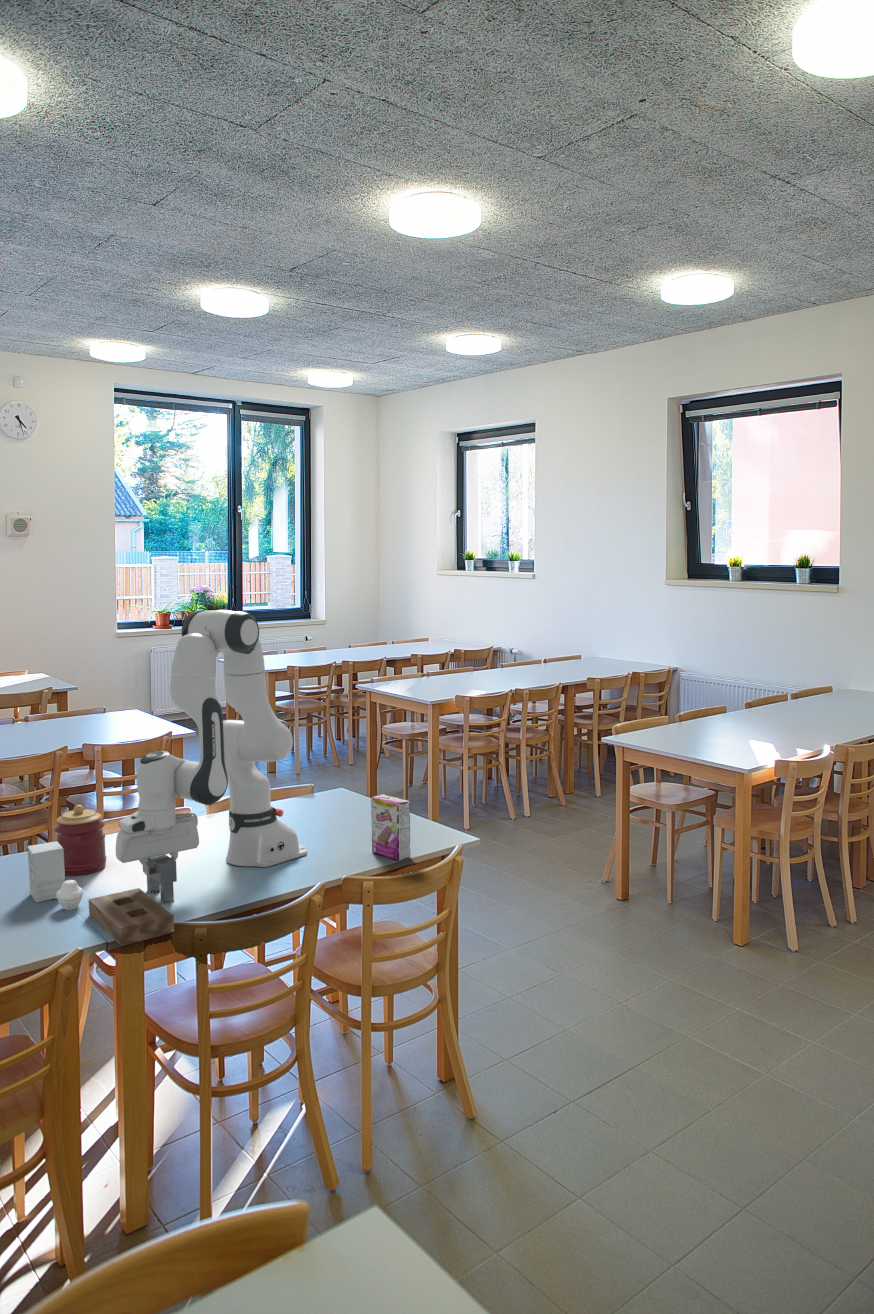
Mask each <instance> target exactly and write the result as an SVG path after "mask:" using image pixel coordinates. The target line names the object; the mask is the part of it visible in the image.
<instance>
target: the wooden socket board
mask: <svg viewBox="0 0 874 1314" xmlns="http://www.w3.org/2000/svg"><path fill="white" fill-rule="evenodd" d="M88 913H89V917H90V918H91V919H92V920H93V919H94V920H93V921H94V922H95V921H96V923H97V924H98V926H100V927H101V928H102V929H103V931H105V933H107V934H108V935H109V937H110V938H112V939H113V940H114V941H115V942H116V943H117V944H119V945H120V946H121V947H122V946H126V945H130V944H134V943H137V942H142V941H146V940H150V939H153V938H158V937H162V936H166V935H168V934H172V933H171V930H172V927H173V925H174V926H175V915H174V914H173V913H172V912H170V910H168V909H166V907H164V906H163V905H161V904H160V903H159V902H157V901H156V900H155V899H154V898H152V896H150V895H149V894H147V893H146V892H145V891H143V890H142V889H141V888H140V887H136V888H132V889H128V890H123V891H119V892H116V893H110V894H106V895H101V896H98V897H93V898H88Z"/></svg>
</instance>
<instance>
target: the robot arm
mask: <svg viewBox="0 0 874 1314" xmlns="http://www.w3.org/2000/svg"><path fill="white" fill-rule="evenodd" d="M259 627H260V626H259V624H258V621H257V620H256V617H254V616H253V615H252V614H250V613H248V612H245V611H242V610H241V611H240V610H237V611H235V610H229V609H216V610H214V609H213V610H202V609H201V610H196V611H194V612H191V613H188V615H186V617H185V619H184V621H183V623H182V626H181V637H180V638H179V639H178V641H177V645H176V647H175V651H174V655H173V658H172V664H171V670H170V681H169V691H170V692H169V693H170V698H171V701H173V704H174V705H175V706H176V707H177V708H178V709H179V710H180V711H181V712H184V714H186V715H188V716H189V717H190V718H191V719H192V720H193V721H194V722H195V724H196V726H197V728H198V734H199V737H198V738H199V761H194V760H191V759H184V758H179V757H177V756H174V755H173V754H171V753H170V752H169V751H165V750H156V751H151V752H149V753H146V754H144V755H143V756H141V758H139V761H138V765H137V770H136V771H137V772H136V785H137V786H136V789H137V793H138V797H139V798H138V800H139V801H138V804H137V810H136V811H135V812H133V813H131V814H129V815H127V816H125V817H124V818H122V819H120V820H119V821H118V827H119V828H120V830H119V831H118V833H117V835H116V841H115V856H116V857H115V858H116V859H117V860H118V861H120V862H121V863H124V864H127V863H132V862H135V861H138V862H139V863H140V864H141V865H142V868H143V867H144V870H145V873H144V875H146V876H147V875H152V874H153V872H152V871H153V868H152V867H151V866H148V865H147V864H146V862H148V858H151V857H156V856H161V855H168V854H169V855H170V858H171V859H173V860H174V861H176V862H177V859H178V857H179V852H184V851H188V850H194V849H197V848H198V846H199V844H200V837H199V830H198V824H199V823H198V821H199V818H198V815H197V814H196V813H194V812H193V813H192V811H188V812H185V813H177V814H176V800H177V799H178V798H181V799H184V800H190V801H193V802H195V803H198V804H202V805H205V806H212V805H214V804H217V803H218V802H219V801H220V800H221V799H222V798H223V797H224V795H225V794H226V791H227V789H228V794H229V805H230V807H229V808H230V809H229V810H228V826H229V843H228V844H229V845H228V849H227V854H226V858H225V862H227V863H228V864H229V865H233V866H239V867H259V868H260V867H261V868H268V867H271V866H275V865H278V864H282V863H285V862H287V861H291V860H294V859H297V858H300V857H303V856H306V855H307V853H308V851H307V849H306V847H305V846H304V845H302V844H300V843H299V839H298V835H297V834H296V833H297V832H296V831H295V830H294V829H293V828H292V827H290V826H288V825H287V824H285V823H284V822H283V821H281V820H279V819H278V818H277V817H279V818H280V817H283V815H284V813H285V812H284V810H283V809H280V808H275V807H273V806H272V805H271V802H272V801H271V783H270V780H269V778H268V777H267V776H266V775H265V774H263V773H262V772H261V771H260V770H259V769H258V768H257V766H256V765H255V763H254V762H258V763H259V762H260V763H261V762H262V763H272V762H273V763H274V762H278V761H284V760H285V759H286V758H287V757H288V756H289V755H290V753H291V751H292V749H293V747H294V746H293V745H294V739H293V735H292V732H291V731H290V729H289V728H288V727H287V726H286V725H285V724H284V723H283V722H281V720H280V719H279V718H278V717H277V715H276V714H275V713H274V711H273V709H272V706H271V704H270V701H269V697H268V691H267V681H266V671H265V670H266V668H265V659H264V658H265V657H264V653H263V648H262V645H261V640H260V628H259ZM219 653H222V654H223V679H224V680H223V681H224V683H223V684H224V697H225V700H226V703H227V704H228V705H229V706H230V707H231V708H232V709H234V710H236V711H237V713H238V714H239V715H240V717H241V719H242V720H241V719H240V720H239V719H238V720H237V719H225V720H224V718H223V717H224V715H223V708H222V707H221V704H220V702H219V701H218V697H217V692H216V691H217V690H216V674H217V669H216V668H217V657H218V655H219Z"/></svg>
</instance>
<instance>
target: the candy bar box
mask: <svg viewBox="0 0 874 1314" xmlns="http://www.w3.org/2000/svg"><path fill="white" fill-rule="evenodd" d="M370 798H371V800H370V802H371V850H372V851H371V852H372V854H376V855H379V856H382V857H385V858H389V859H392V860H395V861H397V862H400V861H403V860H406V859H409V858H411V809H410V808H411V807H410V806H411V805H410V801H409V800H407V799H403V798H399V797H395V796H391V795H387V794H384V793H383V794H382V793H381V794H378V795H375V796H371V797H370Z"/></svg>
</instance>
